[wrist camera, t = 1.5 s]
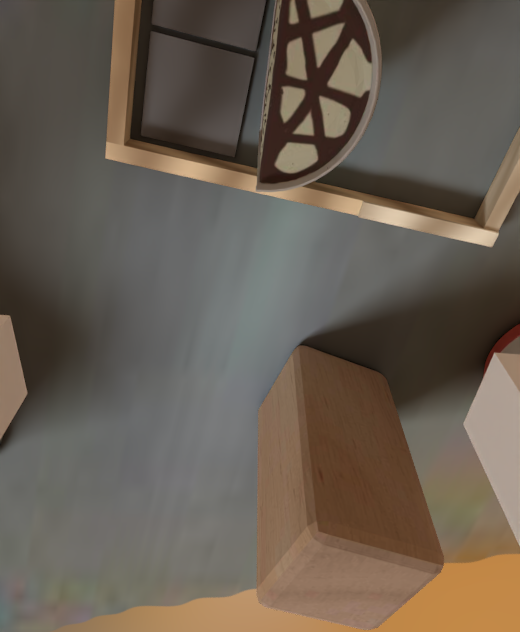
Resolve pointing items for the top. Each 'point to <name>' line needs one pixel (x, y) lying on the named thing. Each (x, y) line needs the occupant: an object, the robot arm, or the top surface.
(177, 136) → the trap channel
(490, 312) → the top surface
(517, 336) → the citrus juicer
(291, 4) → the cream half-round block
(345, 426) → the block
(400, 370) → the top surface
